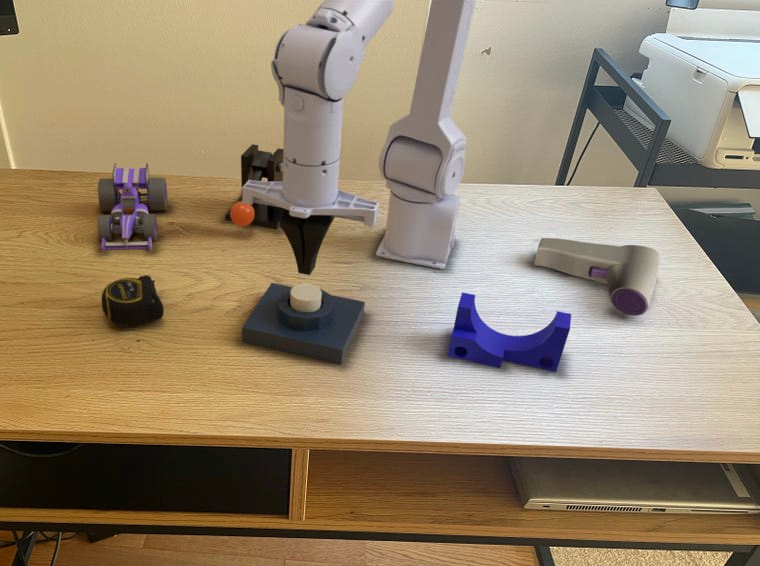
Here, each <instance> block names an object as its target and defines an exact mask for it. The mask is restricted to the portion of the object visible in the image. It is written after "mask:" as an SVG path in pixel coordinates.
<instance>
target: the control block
mask: <svg viewBox="0 0 760 566" xmlns="http://www.w3.org/2000/svg"><path fill="white" fill-rule="evenodd" d="M293 287H294V286H289V285H284V284H279V283H275V282H270V285H269V286H268V288H267V289H266V290H265V292H264V294H263V295H262V296H261V298H260V300H259V301H258V302H257V304H256V306H255V307H254V309H253V310H252V311H251V313H250V315H249V316H248V317H247V319H246V321H245V322H244V324H243V325H242V327H241V338H242V339H241V342H242V343H245V344H249V345H252V346H253V345H254V346H258V347H261V348H266V349H270V350H275V351H279V352H284V353H288V354H292V355H297V356H301V357H306V358H309V359H313V360H318V361H323V362H327V363H331V364H336V365H339V366H342V365H343V363H344V360H345V357H346V356H347V354H348V351H349V349H350V347H351V345H352V342H353V340H354V338H355V336H356V334H357V332H358V329H359V328H360V325H361V324H362V321H363V319H364V316H365V315H364V314H365V305H366V302H365V301H361V300H357V299H353V298H348V297H347V298H346V297H342V296H337V295H333V294H330V293H329V292H327V291H325V290H324V289H322V288H320V290H321V292H322V295H321V306H320V308H319V309H318V310H316V311H314V312H300V311H295V310H294V309H292V307H291V306H290V291H291V289H292V288H293Z"/></svg>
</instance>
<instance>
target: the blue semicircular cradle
mask: <svg viewBox="0 0 760 566" xmlns="http://www.w3.org/2000/svg"><path fill="white" fill-rule="evenodd" d="M571 323H572V313H568V312H564V311H559V310H557V311H556V312H555V315H554V317H553V319H552V320H551V322H550V323H548V325H546V326H545V327H544V328H543V329H540V330H539V331H536V332H533V333H531V334H526V335H525V334H524V335H510V334H505V333H502V332H499V331H497V330H495V329H493V328H492V327H491V326H489V325H488V324H487V323H485V322H484V321H483V319H482V318H481V316H480V315H479V313H478V311H477V307H476V294H472V293H467V292H461V295H460V298H459V302H458V305H457V310H456V314H455V320H454V325H453V329H452V332H451V336H450V341H449V346H448V352H447V357H451V358H454V359H459V360H463V361H468V362H472V363H476V364H480V365H484V366H488V367H493V368H498V369H501V367H502V364H503V362H508V363H512V364H513V363H514V364H518V365H520V366H521V365H522V366H526V367H532V368H534V369H540V370H545V371H550V372H554V373H557V370H558V368H559V365H560V362H561V358H562V355H563V352H564V349H565V345H566V343H567V340H568V336H569V334H570V331H571Z"/></svg>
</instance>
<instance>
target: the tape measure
mask: <svg viewBox="0 0 760 566" xmlns="http://www.w3.org/2000/svg"><path fill="white" fill-rule="evenodd" d="M155 282H156V280H153V279H152V277H151V276H150V275H140V276H139V277H138V278H137V277H124V278H118V279H116V280H114V281H112V282H110V283H109V284H107V285H106V286H105V288H104V289H103V292H102V294H101V307H102V311H103V314H104V315H105V317H106V318H107V319H108V320H109V321H110V322H111V323H112V324H115V325H117V326H121V327H129V328H130V327H138V326H142V325H145V324H148V323H151V322H155V321H158V320H160V319H162V318H163V317H164V313H165V312H164V310H165V309H164V305H163V302H162V301H161V299H160V297H159V295H158V294H157V290H156V289H157V288H156V287H155V285H156V284H155Z"/></svg>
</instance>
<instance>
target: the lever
mask: <svg viewBox="0 0 760 566" xmlns="http://www.w3.org/2000/svg"><path fill="white" fill-rule="evenodd" d="M272 155H273V152H272V151H264V150H259V149H258V150H257V153H256V155H255V158H254V160H253V162H252V169H253V177H252V179H251V180H253V181H263V178H264V179H267V172H268V159H269V158H270V157H271V156H272ZM236 202H237V201H236ZM236 202H235V203H234V204H233V205H232V206H231V207H230V209H231V211H230V216H231V219H232V221H231V222H232V223H233V224H235V225H237V226H239V227H247V226H249V225H250V223H251V222H252V221H253V219H254V216H255V212H254V209H253V207H252V205H248V204H243V203H242V201H240V202H237V203H236Z"/></svg>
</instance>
